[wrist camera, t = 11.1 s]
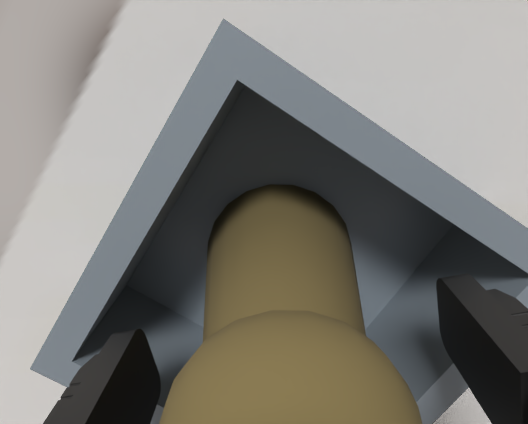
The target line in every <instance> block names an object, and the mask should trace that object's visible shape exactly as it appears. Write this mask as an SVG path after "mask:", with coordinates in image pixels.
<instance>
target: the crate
mask: <svg viewBox="0 0 528 424" xmlns="http://www.w3.org/2000/svg"><path fill="white" fill-rule="evenodd" d="M269 184H275V185H295V186H298V187H301V188H304V189H307V190H310V191H313V192H316V193H317V194H318V195H320V196H321V197H322V198H324V199H325V200H326V201H328V202H329V203H331V204H332V205H333V206H334V207H335V209H336V210H337V212H338V213H339V214H340V216H341V217H342V219H343V220H344V222H345V223H346V226H347V230H348V233H349V237H350V241H351V245H352V251H353V257H354V263H355V269H356V276H357V282H358V288H359V294H360V301H361V307H362V313H363V319H364V326H365V332H366V337H368V338H369V339H371V340H372V341H373V342H374V343H375V344H376V345H377V346H378V347H379V348H380V349H381V350H382V351H383V352H384V353H385V354H386V355H387V357H388V358H389V359H390V361H391V362H392V364H393V365H394V366H395V368H396V369H397V370H398V372H399V373H400V374H401V376H402V377H403V379H404V380H405V381H406V383H407V384H408V386H409V388H410V390H411V393H412V395H413V397H414V399H415V401H416V403H417V405H418V408H419V412H420V416H421V420H422V424H433V423H434V422H435V421H436V420H437V419H438V418H439V417H440V416H441V415H442V414H443V413H444V412H445V411H446V410H447V409H448V408H449V407H450V406H451V405H452V404H453V403H454V402H455V401H456V400H457V399H458V398H459V397H460V396H461V395H462V394H463V393H464V392H465V391H466V390H467V389H468V385H467V383H466V382H465V380H464V379H463V377H462V376H461V374H460V372H459V371H458V369H457V368H456V366H455V365H454V363H453V361H452V360H451V358H450V357H449V355H448V353H447V351H446V349H445V347H444V344H443V341H442V338H441V334H440V327H439V315H438V303H437V291H436V282H437V279H438V278H443V277H448V276H454V275H460V274H466V273H468V274H470V275H471V276H472V277H473V278H474V279H475V280H476V281H477V282H478V283H479V284H480V285H481V286H482V287H483V288H484V289H485V290H491V289H497V290H499V291H502V292H504V293H506V294H508V295H510V296H513V297H515V298H517V299H518V300H519V301H520V302H521V303H522V304H523V305H524V306H525V307H527V308H528V228H526V227H525V226H524V225H522V224H521V223H519V222H518V221H516V220H515V219H513V218H512V217H510V216H509V215H508V214H506V213H505V212H503V211H502V210H500V209H499V208H497V207H496V206H494V205H493V204H492V203H490V202H489V201H487V200H486V199H484V198H483V197H481V196H480V195H479V194H477V193H476V192H474V191H473V190H471V189H470V188H468V187H467V186H465V185H464V184H463V183H461V182H460V181H458V180H457V179H455V178H454V177H452V176H451V175H450V174H448V173H447V172H445V171H444V170H442V169H441V168H439V167H438V166H436V165H435V164H434V163H432V162H431V161H429V160H428V159H426V158H425V157H423V156H422V155H421V154H419V153H418V152H416V151H415V150H413V149H412V148H410V147H409V146H407V145H406V144H405V143H403V142H402V141H400V140H399V139H397V138H396V137H394V136H393V135H392V134H390V133H389V132H387V131H386V130H384V129H383V128H381V127H380V126H378V125H377V124H376V123H374V122H373V121H371V120H370V119H368V118H367V117H365V116H364V115H362V114H361V113H360V112H358V111H357V110H355V109H354V108H352V107H351V106H349V105H348V104H347V103H345V102H344V101H342V100H341V99H339V98H338V97H336V96H335V95H333V94H332V93H331V92H329V91H328V90H326V89H325V88H323V87H322V86H320V85H319V84H318V83H316V82H315V81H313V80H312V79H310V78H309V77H307V76H306V75H304V74H303V73H302V72H300V71H299V70H297V69H296V68H294V67H293V66H291V65H290V64H289V63H287V62H286V61H284V60H283V59H281V58H280V57H278V56H277V55H275V54H274V53H273V52H271V51H270V50H268V49H267V48H265V47H264V46H262V45H261V44H260V43H258V42H257V41H255V40H254V39H252V38H251V37H249V36H248V35H246V34H245V33H244V32H242V31H241V30H239V29H238V28H236V27H235V26H233V25H232V24H230V23H229V22H228V21H226V20H225V19H223V20H222V22H221V24H220V26H219V27H218V29H217V31H216V33H215V35H214V36H213V38H212V40H211V42H210V44H209V45H208V47H207V49H206V51H205V53H204V55H203V56H202V58H201V60H200V62H199V64H198V65H197V67H196V69H195V71H194V73H193V74H192V76H191V78H190V80H189V82H188V84H187V85H186V87H185V89H184V91H183V93H182V94H181V96H180V98H179V100H178V102H177V103H176V105H175V107H174V109H173V111H172V113H171V114H170V116H169V118H168V120H167V122H166V123H165V125H164V127H163V129H162V131H161V132H160V134H159V136H158V138H157V140H156V141H155V143H154V145H153V147H152V149H151V151H150V152H149V154H148V156H147V158H146V160H145V161H144V163H143V165H142V167H141V169H140V170H139V172H138V174H137V176H136V178H135V180H134V181H133V183H132V185H131V187H130V189H129V190H128V192H127V194H126V196H125V198H124V199H123V201H122V203H121V205H120V207H119V209H118V210H117V212H116V214H115V216H114V218H113V219H112V221H111V223H110V225H109V227H108V228H107V230H106V232H105V234H104V236H103V238H102V239H101V241H100V243H99V245H98V247H97V248H96V250H95V252H94V254H93V256H92V257H91V259H90V261H89V263H88V265H87V267H86V268H85V270H84V272H83V274H82V276H81V277H80V279H79V281H78V283H77V285H76V286H75V288H74V290H73V292H72V294H71V296H70V297H69V299H68V301H67V303H66V305H65V306H64V308H63V310H62V312H61V314H60V315H59V317H58V319H57V321H56V323H55V325H54V326H53V328H52V330H51V332H50V334H49V335H48V337H47V339H46V341H45V343H44V344H43V346H42V348H41V350H40V352H39V354H38V355H37V357H36V359H35V361H34V363H33V364H32V366H31V368H30V369H31V370H33V371H35V372H37V373H39V374H41V375H43V376H45V377H47V378H49V379H51V380H53V381H55V382H57V383H59V384H61V385H64V386H66V387H69V384H70V382H71V381H72V379H73V378H74V376H75V375H76V373H77V372H78V370H79V369H80V368H81V367H82V366H83V365H84V364H85V363H87V362H88V361H89V360H90V359H91V358H92V357H93V356H94V355H96V354H99V353H100V351H101V350H102V348H103V347H104V345H105V343H106V342H107V340H108V339H109V337H110V336H111V334H113V333H116V332H122V331H128V330H134V329H142V330H143V331H144V333H145V335H146V337H147V340H148V343H149V346H150V349H151V352H152V354H153V357H154V360H155V363H156V366H157V369H158V371H159V375H160V381H161V391H160V397H159V400H158V403H157V406H156V408H155V411H154V414H153V417H152V420H151V423H150V424H159V422H160V419H161V416H162V413H163V410H164V407H165V403H166V400H167V398H168V395H169V392H170V389H171V386H172V383H173V380H174V379H175V377H176V376H177V375H178V373H179V372H180V371H181V369H182V368H183V367H184V365H185V364H186V363H187V362H188V360H189V359H190V358H191V357H192V355H193V354H194V353H195V352H196V351H197V349H198V348H199V347H200V346H201V344H202V343H203V326H204V307H205V288H206V269H207V250H208V240H209V237H210V234H211V231H212V228H213V224H214V222H215V220H216V219H217V218H218V216H219V215H220V214H221V212H222V211H223V210H224V208H225V207H226V206H227V204H229V203H230V202H232V201H233V200H234V199H236V198H237V197H239V196H240V195H242V194H243V193H245V192H246V191H249V190H252V189H255V188H259V187H262V186H265V185H269Z"/></svg>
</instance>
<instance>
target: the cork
mask: <svg viewBox="0 0 528 424" xmlns="http://www.w3.org/2000/svg"><path fill="white" fill-rule="evenodd" d="M159 424H422V420H421V416H420V412H419V408H418V405H417V403H416V401H415V399H414V397H413V395H412V393H411V390H410V388H409V386H408V384H407V383H406V381H405V380H404V379H403V377H402V376H401V374H400V373H399V372H398V370H397V369H396V368H395V366H394V365H393V364H392V362H391V361H390V359H389V358H388V357H387V355H386V354H385V353H384V352H383V351H382V350H381V349H380V348H379V347H378V346H377V345H376V344H375V343H374V342H373V341H372V340H371V339H369V338H368V337H366V332H365V326H364V319H363V313H362V307H361V301H360V294H359V288H358V282H357V276H356V269H355V263H354V257H353V251H352V245H351V241H350V237H349V233H348V230H347V226H346V223H345V222H344V220H343V219H342V217H341V216H340V214H339V213H338V212H337V210H336V209H335V207H334V206H333V205H332V204H331V203H329V202H328V201H326V200H325V199H324V198H322V197H321V196H320V195H318V194H317V193H316V192H313V191H310V190H307V189H304V188H301V187H298V186H295V185H275V184H269V185H265V186H262V187H259V188H255V189H252V190H249V191H246V192H245V193H243V194H242V195H240V196H239V197H237V198H236V199H234V200H233V201H232V202H230V203H229V204H227V206H226V207H225V208H224V210H223V211H222V212H221V214H220V215H219V216H218V218H217V219H216V220H215V222H214V224H213V228H212V231H211V234H210V237H209V240H208V250H207V269H206V288H205V307H204V326H203V343H202V344H201V346H200V347H199V348H198V349H197V351H196V352H195V353H194V354H193V355H192V357H191V358H190V359H189V360H188V362H187V363H186V364H185V365H184V367H183V368H182V369H181V371H180V372H179V373H178V375H177V376H176V377H175V379H174V380H173V383H172V386H171V389H170V392H169V395H168V398H167V400H166V403H165V407H164V410H163V413H162V416H161V419H160V422H159Z"/></svg>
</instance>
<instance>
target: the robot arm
mask: <svg viewBox="0 0 528 424" xmlns="http://www.w3.org/2000/svg"><path fill="white" fill-rule="evenodd" d="M436 291H437V303H438V315H439V327H440V334H441V338H442V341H443V344H444V347H445V349H446V351H447V353H448V355H449V357H450V358H451V360H452V361H453V363H454V365H455V366H456V368H457V369H458V371H459V372H460V374H461V376H462V377H463V379H464V380H465V382H466V383H467V385H468V387H469V388H470V390H471V391H472V393H473V394H474V396H475V398H476V399H477V401H478V402H479V404H480V405H481V407H482V409H483V410H484V412H485V413H486V415H487V416H488V418H489V420H490V421H491V423H492V424H528V308H527V307H525V306H524V305H523V304H522V303H521V302H520V301H519V300H518V299H517V298H515V297H513V296H510V295H508V294H506V293H504V292H502V291H499V290H497V289H491V290H485V289H484V288H483V287H482V286H481V285H480V284H479V283H478V282H477V281H476V280H475V279H474V278H473V277H472V276H471V275H470V274H468V273H466V274H460V275H454V276H448V277H443V278H438V279H437V282H436ZM160 391H161V381H160V375H159V371H158V369H157V366H156V363H155V360H154V357H153V354H152V352H151V349H150V346H149V343H148V340H147V337H146V335H145V333H144V331H143V330H142V329H134V330H128V331H122V332H116V333H113V334H111V336H110V337H109V339H108V340H107V342H106V343H105V345H104V347H103V348H102V350H101V351H100V353H99V354H96V355H94V356H93V357H92V358H91V359H90V360H89V361H88V362H87V363H85V364H84V365H83V366H82V367H81V368H80V369H79V370H78V372H77V373H76V375H75V376H74V378H73V379H72V381H71V382H70V384H69V387H67V388H66V390H65V391H64V393H63V394H62V396H61V400H58V402H57V403H56V405H55V406H54V408H53V409H52V411H51V412H50V414H49V415H48V417H47V418H46V420H45V421H44V423H43V424H150V423H151V420H152V417H153V414H154V411H155V408H156V406H157V403H158V400H159V397H160Z"/></svg>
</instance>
